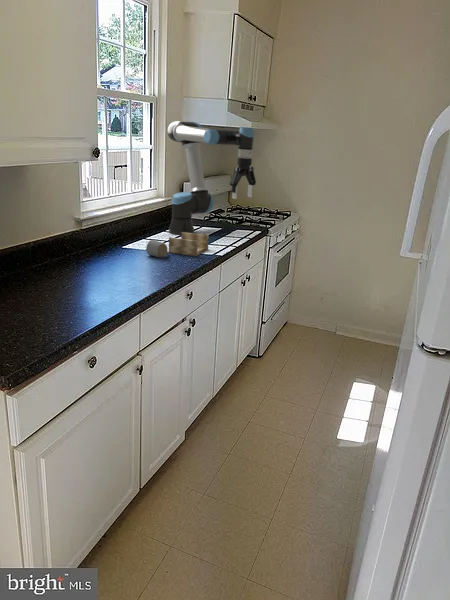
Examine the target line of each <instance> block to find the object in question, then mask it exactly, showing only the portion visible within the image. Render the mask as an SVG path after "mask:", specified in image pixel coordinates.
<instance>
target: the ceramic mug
mask: <svg viewBox="0 0 450 600" xmlns="http://www.w3.org/2000/svg"><path fill="white" fill-rule="evenodd" d="M145 250H146V254H148V255H149V256H153V257H156V258H164V257H166V255H167V256H168V255H169V254H170V253H169V248H168V246H167V244H166V243H164V242H161V241H158V240H155V239H151V240H149V241H148V242H147V244H146V249H145Z"/></svg>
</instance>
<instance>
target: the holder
mask: <svg viewBox="0 0 450 600" xmlns="http://www.w3.org/2000/svg"><path fill="white" fill-rule="evenodd" d="M209 238H210V236H209V235H208V234H200V233H185V232H181V235H180V238H179V237H169V238H168V252H169V254H170V253H171V254H177V255H185V256H193V257H197V256H199V255H201V254H203V253H204V252H207V251H208V250H209Z"/></svg>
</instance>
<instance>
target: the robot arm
mask: <svg viewBox="0 0 450 600" xmlns="http://www.w3.org/2000/svg"><path fill="white" fill-rule="evenodd" d="M254 132H255V131H254V127H248V126H247V127H246V126H240V127H239V130H235V129H215V128H209V127H208V128H206V127H203V126H202V124H200V123H198V122H195V121H178V120H176V121H172V122H171V123H170V124H169V125H168V127H167V136H168V138H169V139H170V140H171V141H172V142H176V143H181V146H182V148H183V149H184V150H185V158H186V162H187V163H186V164H187V170H188V177H189V183H190V190H189V191H185V192H182V191H181V192H177V193H176V192H175V193H174V194H173V196H172V199H171V206H172V207H171V221H170V224H169V227H168V233H169V234H172V235H179V236H181V232H185V233H193V234H195V228H194V224H193V221H192V219H193V217H192V216H193V215H200V214H207V213H209V212H211V210H212V209H213V207H214V196H212V194H210V193H209V189H207V188H206V185H205V177H204V171H203V162H202V157H201V155H202V154H201V149H200V147H201V145H202V144H207V145H210V146H211V145H212V146H213V145H223V146H225V145H226V146H227V145H228V146H238V148H237V151H238V152H237V157H238V158H237V166H235V167H234V169H233V173H232V176H231V178H230V182H229V185H230V186H231V193H232V194H231V199H234V200H238V184H239V182H240V180H241V179H242V177H244V176H245V178H246V180H247V182H248V184H247V197H248V198H253V191H254V186H256V183H257V180H256V177H255V176H256V175H255V172H254V170H255V169H254V166H252V160H253V159H252V157H253V148H254V147H253V145H254V136H255V135H254Z"/></svg>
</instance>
